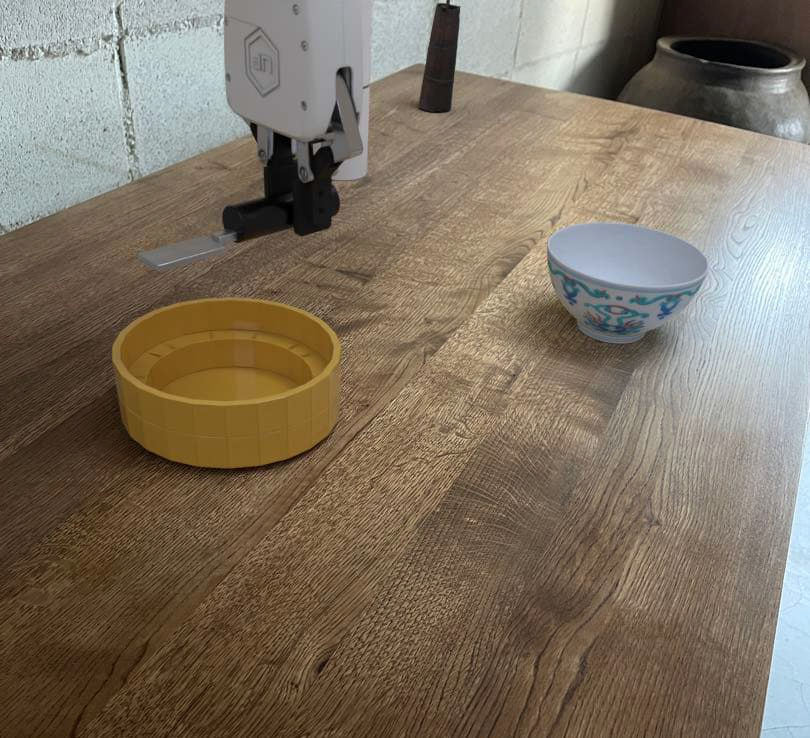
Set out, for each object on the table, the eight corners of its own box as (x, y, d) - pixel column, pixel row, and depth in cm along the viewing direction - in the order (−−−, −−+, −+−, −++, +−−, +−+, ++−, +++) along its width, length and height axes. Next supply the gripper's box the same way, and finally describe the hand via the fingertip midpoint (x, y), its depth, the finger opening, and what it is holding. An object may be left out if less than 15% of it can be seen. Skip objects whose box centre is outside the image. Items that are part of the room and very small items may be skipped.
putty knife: (318, 210, 72) (318, 176, 70) (340, 221, 70) (340, 186, 69) (138, 260, 63) (132, 222, 61) (159, 272, 61) (154, 234, 60)
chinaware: (577, 282, 98) (591, 210, 94) (710, 325, 92) (732, 251, 87) (507, 330, 89) (518, 253, 84) (650, 382, 83) (671, 302, 78)
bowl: (81, 403, 74) (69, 335, 70) (254, 342, 84) (251, 279, 80) (205, 503, 65) (198, 432, 61) (382, 422, 75) (386, 356, 71)
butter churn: (444, 122, 142) (463, -97, 124) (393, 109, 146) (404, -105, 128) (474, 111, 148) (496, -100, 130) (424, 99, 152) (439, -108, 134)
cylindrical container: (319, 160, 124) (319, -59, 108) (371, 165, 124) (378, -53, 108) (307, 177, 119) (305, -51, 103) (361, 183, 118) (368, -45, 102)
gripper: (169, -80, 60) (195, 203, 72) (331, -43, 51) (330, 272, 63) (262, -84, 64) (272, 184, 76) (426, -50, 55) (408, 247, 67)
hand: (298, 222), depth 69 cm, fingers closed on putty knife, 2 cm apart
